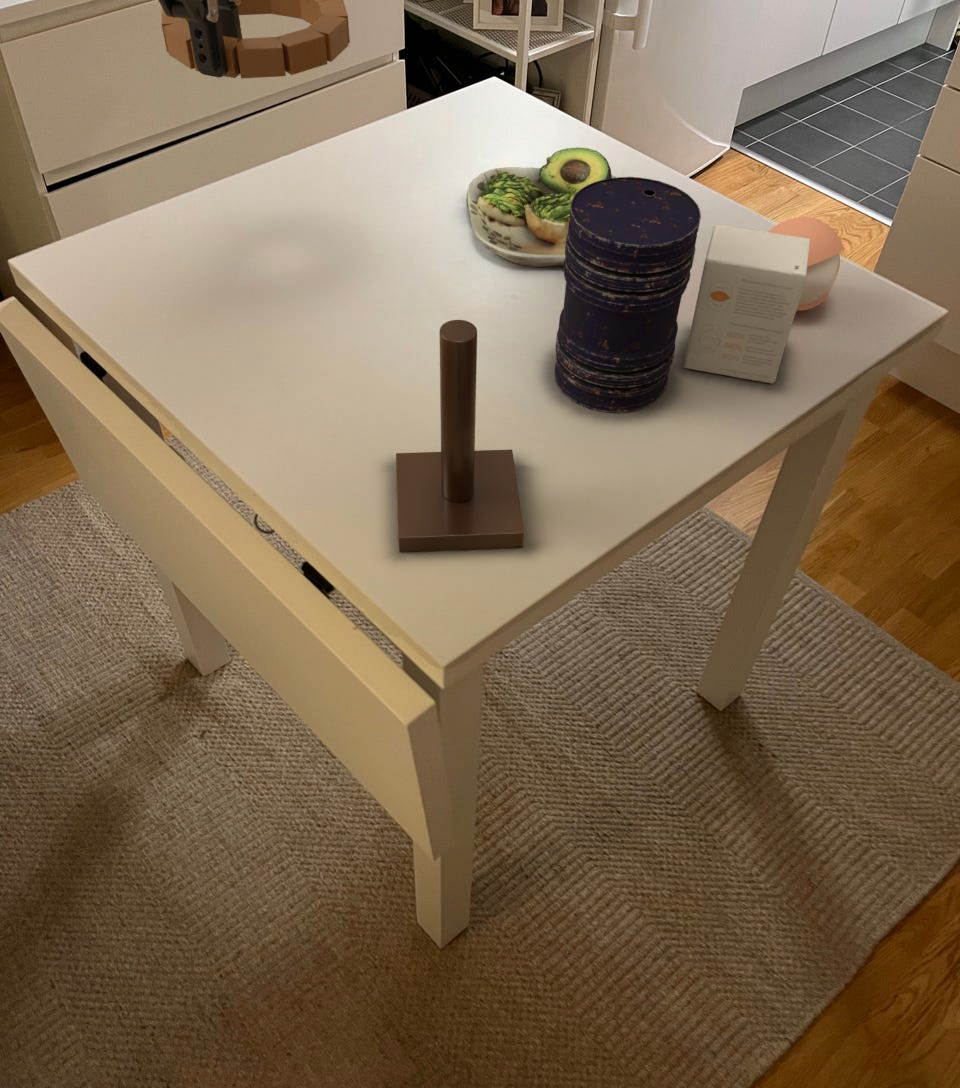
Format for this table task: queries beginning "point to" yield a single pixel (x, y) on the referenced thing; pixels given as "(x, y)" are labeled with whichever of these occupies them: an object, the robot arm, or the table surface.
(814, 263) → the toy ball
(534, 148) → the table surface
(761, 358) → the small box
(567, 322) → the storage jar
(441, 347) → the peg
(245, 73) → the ring
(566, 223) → the avocado toast plate
